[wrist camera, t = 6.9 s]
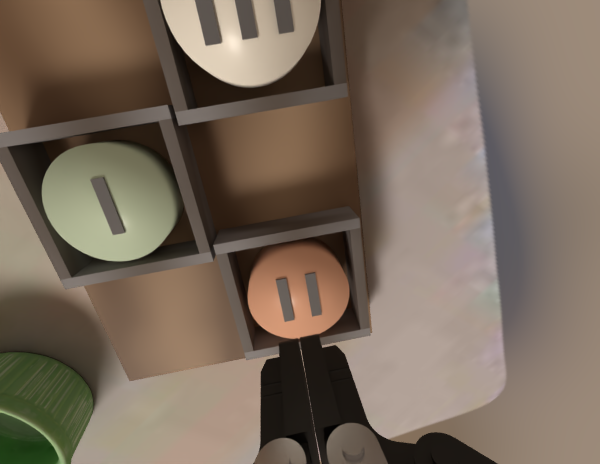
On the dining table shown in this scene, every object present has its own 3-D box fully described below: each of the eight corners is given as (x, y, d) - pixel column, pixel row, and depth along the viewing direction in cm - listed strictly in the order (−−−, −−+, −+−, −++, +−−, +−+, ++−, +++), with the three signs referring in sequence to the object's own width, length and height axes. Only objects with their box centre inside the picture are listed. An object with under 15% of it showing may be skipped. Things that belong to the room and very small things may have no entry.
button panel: (142, 356, 21) (114, 410, 17) (-44, -62, 13) (-174, -136, 9) (362, 313, 21) (383, 356, 17) (318, -115, 13) (338, -206, 9)
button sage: (96, 252, 16) (72, 271, 14) (51, 150, 14) (16, 156, 12) (196, 233, 16) (186, 250, 14) (165, 130, 14) (148, 133, 12)
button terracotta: (260, 322, 18) (259, 348, 16) (240, 244, 16) (236, 262, 14) (345, 306, 18) (354, 329, 16) (334, 226, 16) (344, 242, 14)
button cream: (197, 98, 12) (184, 94, 10) (156, -61, 11) (132, -101, 9) (320, 77, 13) (330, 70, 11) (301, -83, 11) (309, -126, 9)
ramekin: (-10, 318, 19) (-86, 374, 15) (128, 382, 21) (96, 446, 17) (-69, 409, 21) (-152, 482, 17) (65, 458, 23) (22, 532, 19)
